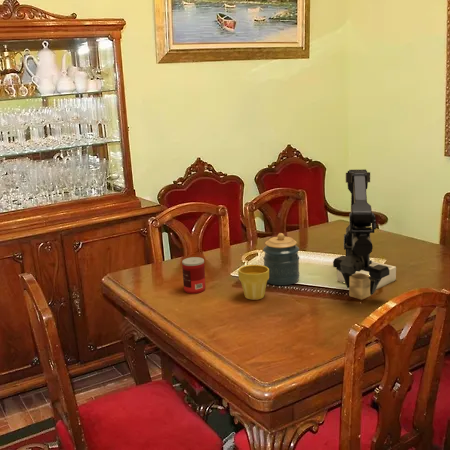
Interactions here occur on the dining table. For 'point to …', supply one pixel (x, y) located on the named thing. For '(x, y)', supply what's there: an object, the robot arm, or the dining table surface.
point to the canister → (282, 260)
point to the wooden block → (359, 286)
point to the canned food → (193, 275)
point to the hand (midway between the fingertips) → (360, 291)
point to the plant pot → (254, 280)
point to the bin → (383, 281)
